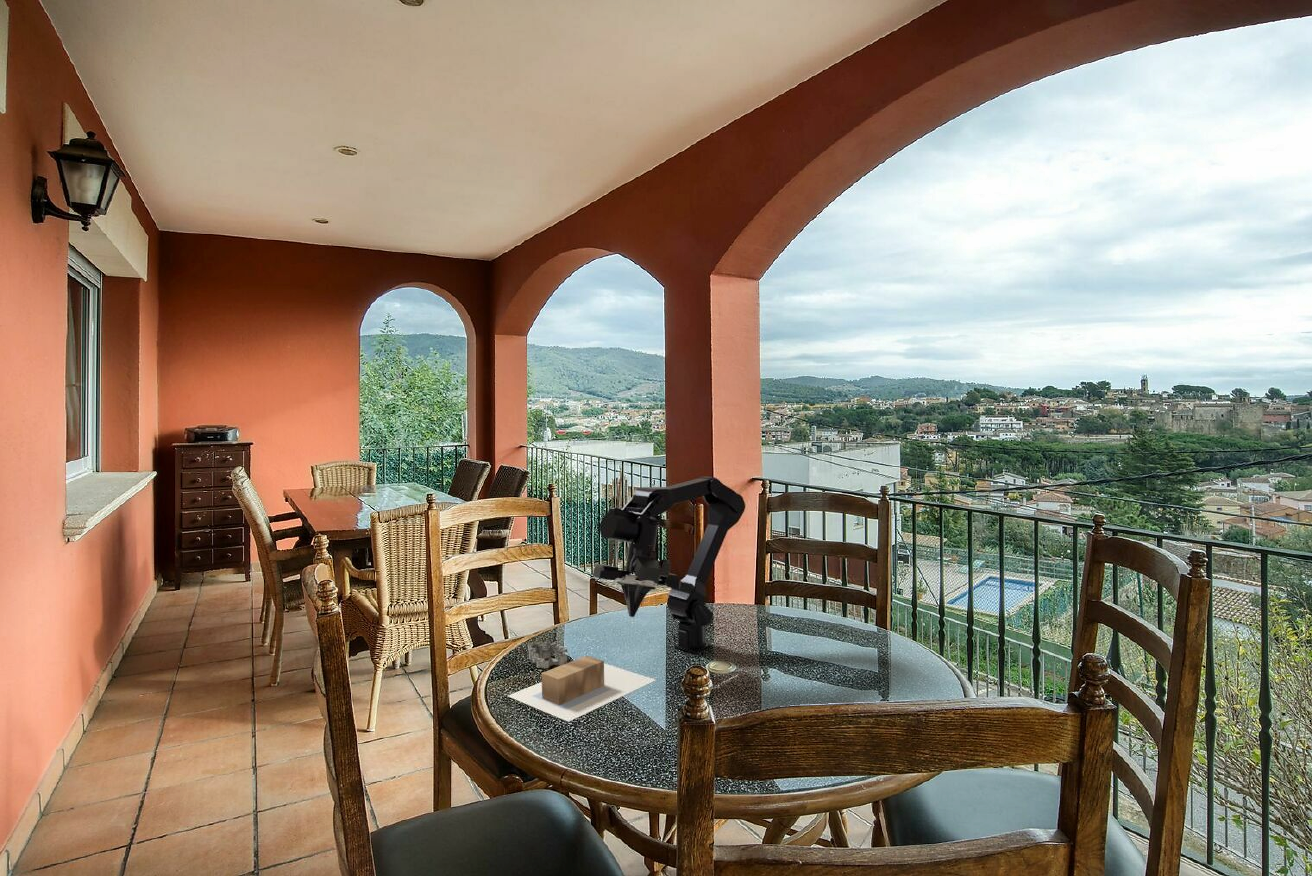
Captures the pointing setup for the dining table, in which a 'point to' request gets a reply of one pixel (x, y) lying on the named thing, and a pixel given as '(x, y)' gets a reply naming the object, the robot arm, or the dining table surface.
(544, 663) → the egg carton
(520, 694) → the mat
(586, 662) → the oak block
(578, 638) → the dining table surface
